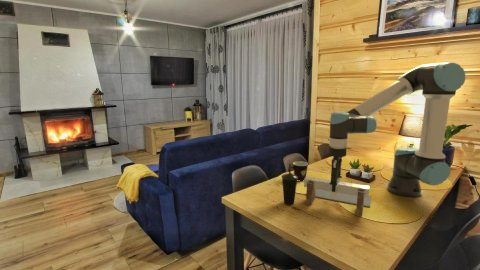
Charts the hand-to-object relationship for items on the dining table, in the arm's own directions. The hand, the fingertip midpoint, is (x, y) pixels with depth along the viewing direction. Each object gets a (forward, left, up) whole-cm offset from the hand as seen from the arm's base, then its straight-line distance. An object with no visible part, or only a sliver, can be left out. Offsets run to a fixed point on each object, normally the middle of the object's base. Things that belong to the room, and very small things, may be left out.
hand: (334, 194), depth 121 cm
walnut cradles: (0, 0, -6) cm, 6 cm away
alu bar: (0, 0, +2) cm, 2 cm away
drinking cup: (+20, +6, -6) cm, 22 cm away
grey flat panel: (0, -12, -6) cm, 13 cm away
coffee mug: (+25, -26, -6) cm, 37 cm away
